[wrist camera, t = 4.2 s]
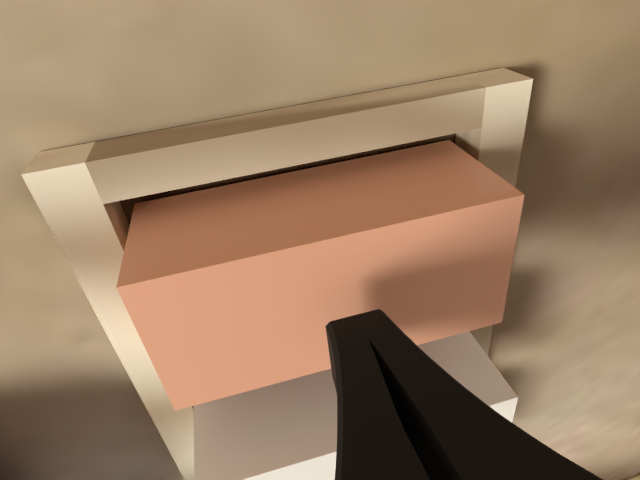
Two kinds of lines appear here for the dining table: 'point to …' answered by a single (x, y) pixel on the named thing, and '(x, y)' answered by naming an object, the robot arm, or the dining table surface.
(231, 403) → the ivory key
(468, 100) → the wooden tray
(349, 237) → the terracotta key
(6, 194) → the dining table surface
